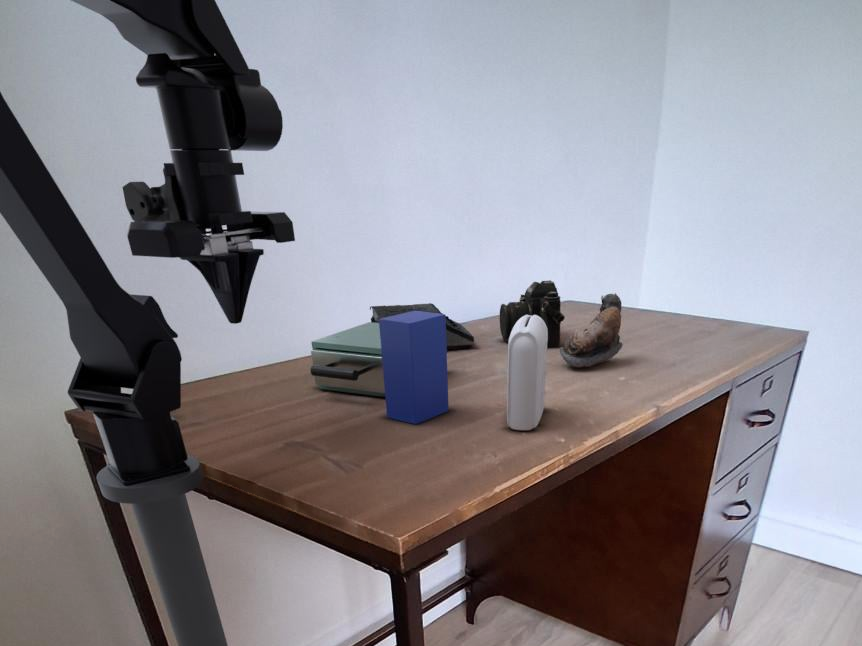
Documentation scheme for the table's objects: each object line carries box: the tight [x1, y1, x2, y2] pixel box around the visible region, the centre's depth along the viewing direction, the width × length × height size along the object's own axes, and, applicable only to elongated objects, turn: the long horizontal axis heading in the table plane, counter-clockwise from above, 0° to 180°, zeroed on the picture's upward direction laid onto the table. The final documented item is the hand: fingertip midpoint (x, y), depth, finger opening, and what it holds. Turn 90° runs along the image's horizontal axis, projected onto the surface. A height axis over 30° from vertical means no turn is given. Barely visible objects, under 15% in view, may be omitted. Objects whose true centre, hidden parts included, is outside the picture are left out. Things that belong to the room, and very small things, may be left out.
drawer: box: [310, 349, 385, 393], centre depth 99 cm, size 19×12×5 cm, turn 156°
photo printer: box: [506, 315, 548, 431], centre depth 84 cm, size 10×4×12 cm, turn 169°
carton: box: [379, 311, 449, 425], centre depth 86 cm, size 7×5×12 cm
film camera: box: [499, 279, 566, 348], centre depth 124 cm, size 18×12×10 cm
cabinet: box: [311, 321, 385, 398], centre depth 102 cm, size 16×14×7 cm
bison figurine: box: [559, 292, 624, 369], centre depth 108 cm, size 12×7×10 cm, turn 135°
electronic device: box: [369, 302, 475, 351], centre depth 122 cm, size 12×17×6 cm
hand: (235, 322), depth 75 cm, fingers closed
